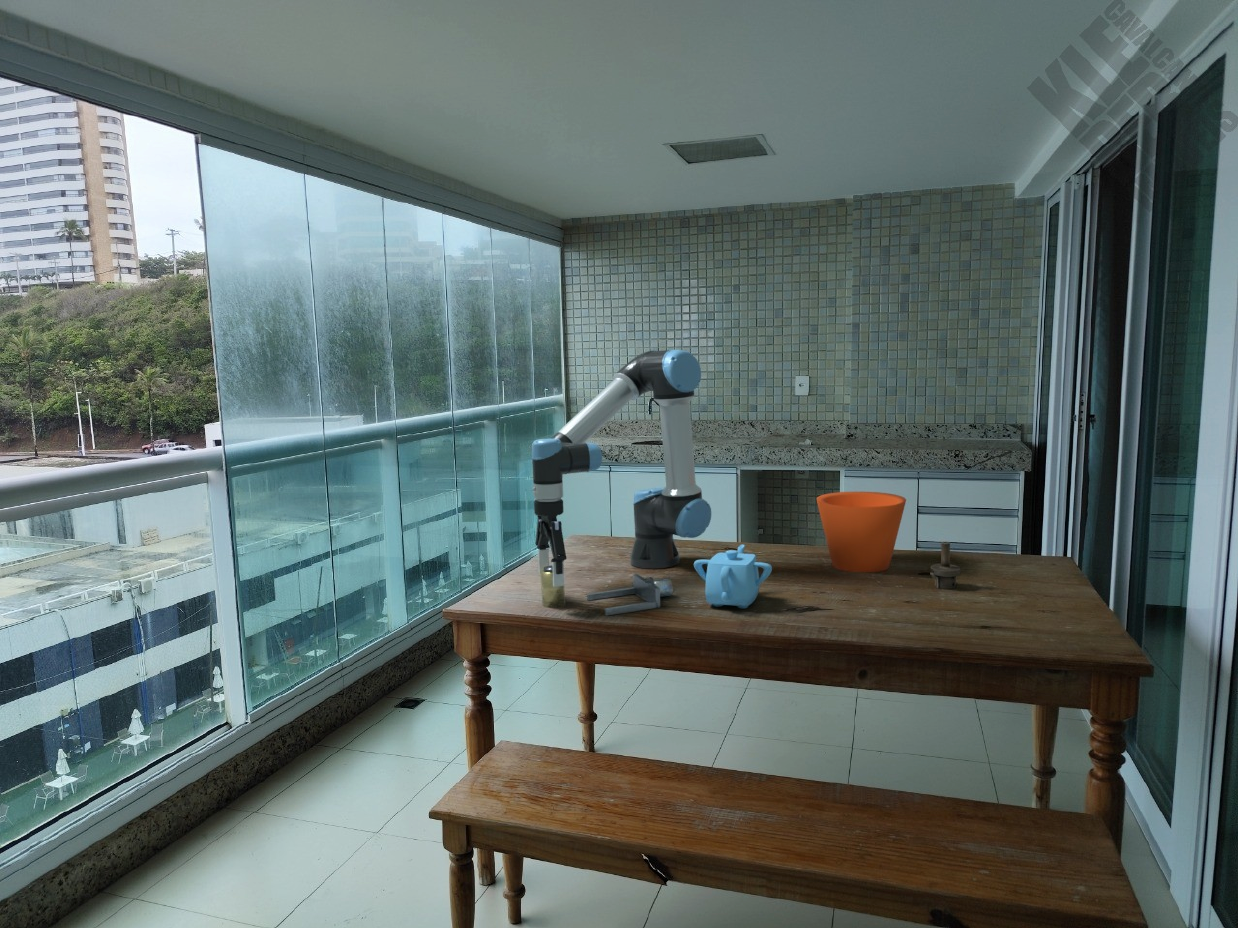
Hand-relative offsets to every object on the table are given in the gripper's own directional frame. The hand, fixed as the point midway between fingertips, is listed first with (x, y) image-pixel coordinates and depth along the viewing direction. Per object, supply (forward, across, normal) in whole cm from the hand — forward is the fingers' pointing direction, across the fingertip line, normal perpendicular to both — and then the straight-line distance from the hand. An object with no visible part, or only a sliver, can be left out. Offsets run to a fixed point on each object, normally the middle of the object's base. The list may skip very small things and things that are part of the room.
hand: (551, 579), depth 214 cm
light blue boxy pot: (+6, +19, +44) cm, 48 cm away
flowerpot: (+5, +6, +92) cm, 93 cm away
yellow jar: (+7, 0, 0) cm, 7 cm away
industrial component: (+5, +34, +97) cm, 103 cm away
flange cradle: (+6, +8, +20) cm, 22 cm away
